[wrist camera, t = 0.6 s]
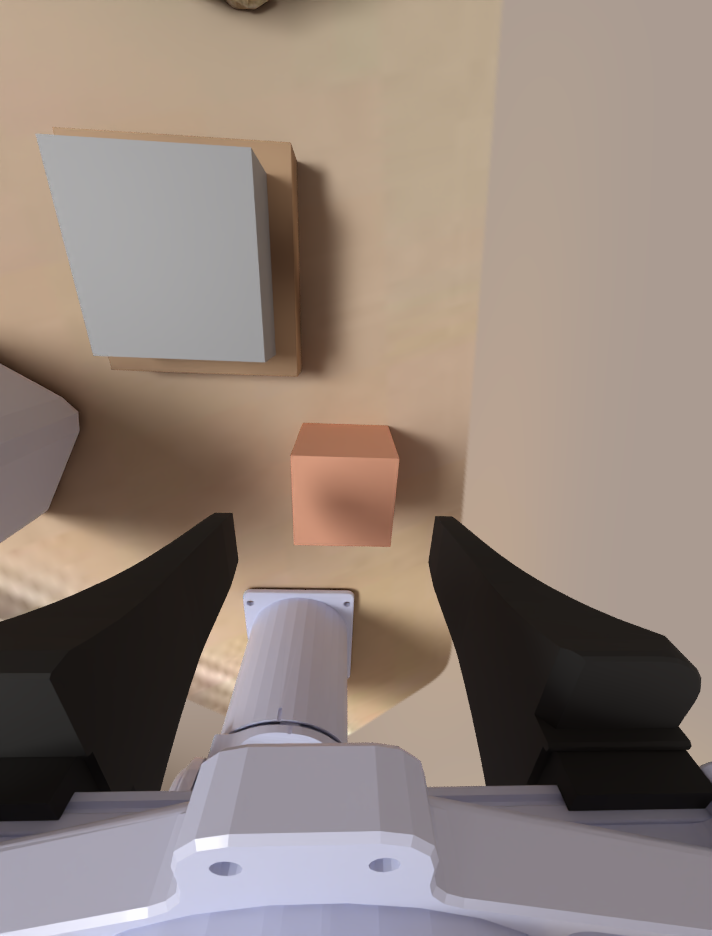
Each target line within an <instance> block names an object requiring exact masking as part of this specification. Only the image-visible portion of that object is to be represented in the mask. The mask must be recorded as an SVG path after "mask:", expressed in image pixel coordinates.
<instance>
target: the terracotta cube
mask: <svg viewBox="0 0 712 936" xmlns="http://www.w3.org/2000/svg"><path fill="white" fill-rule="evenodd" d="M398 467H399V456H398V453H397V450H396V447H395V445H394V442H393V439H392V436H391V433H390V430H389V427H388V426H382V425H351V424H320V423H303V424H302V426H301V429H300V432H299V434H298V437H297V440H296V442H295V445H294V448H293V450H292V453H291V481H292V506H293V531H294V545H327V546H378V547H390V546H391V536H392V526H393V516H394V507H395V497H396V487H397V477H398Z"/></svg>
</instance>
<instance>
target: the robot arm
mask: <svg viewBox="0 0 712 936" xmlns="http://www.w3.org/2000/svg"><path fill="white" fill-rule="evenodd" d="M237 563H238V553H237V545H236V537H235V530H234V522H233V514H232V513H214V514H212V515H210V516H209V517H207V518H206V519H204V520H203V521H202V522H200V523H199V524H197V525H196V526H194V527H193V528H192V529H190V530H189V531H187V532H186V533H184V534H183V535H181V536H180V537H179V538H177V539H176V540H174V541H173V542H171V543H170V544H168V545H167V546H165V547H163V548H162V549H160V550H159V551H157V552H156V553H154V554H152V555H151V556H149V557H148V558H146V559H144V560H143V561H141V562H139V563H138V564H136V565H134V566H132V567H130V568H129V569H127V570H125V571H123V572H121V573H119V574H117V575H115V576H113V577H111V578H109V579H107V580H105V581H103V582H101V583H99V584H96V585H94V586H92V587H90V588H88V589H85V590H83V591H81V592H79V593H76V594H74V595H72V596H70V597H67V598H65V599H62V600H60V601H57V602H55V603H52V604H50V605H47V606H44V607H42V608H39V609H36V610H33V611H31V612H28V613H25V614H22V615H19V616H17V617H14V618H11V619H7V620H4V621H1V622H0V936H712V762H708V763H706V764H704V765H701V766H700V767H699V766H698V765H697V764H696V762H695V761H694V760H693V759H692V757H691V756H690V755H689V753H688V752H687V751H686V750H689V749H690V748H691V742H690V740H689V739H688V738H687V736H686V735H685V734H684V733H683V732H682V730H681V729H680V728H679V725H680V723H681V721H682V720H683V719H684V717H685V716H686V714H687V713H688V711H689V710H690V708H691V707H692V705H693V704H694V703H695V701H696V699H697V697H698V694H699V693H700V688H701V677H700V674H699V672H698V670H697V669H696V667H695V666H694V665H692V663H690V661H689V660H688V659H687V658H686V657H685V656H684V655H683V654H682V653H681V652H680V651H679V650H678V649H677V648H676V647H675V646H674V645H673V644H672V643H671V642H670V641H669V640H668V639H667V638H666V637H665V636H663V635H661V634H658V633H655V632H652V631H650V630H647V629H644V628H641V627H639V626H636V625H633V624H630V623H628V622H625V621H622V620H620V619H617V618H615V617H612V616H610V615H608V614H605V613H603V612H600V611H598V610H596V609H593V608H591V607H589V606H587V605H585V604H583V603H580V602H578V601H576V600H574V599H572V598H570V597H568V596H566V595H565V594H563V593H561V592H559V591H557V590H555V589H553V588H551V587H549V586H547V585H546V584H544V583H542V582H541V581H539V580H537V579H536V578H534V577H532V576H531V575H529V574H527V573H526V572H524V571H522V570H521V569H520V568H518V567H516V566H515V565H514V564H512V563H511V562H509V561H508V560H507V559H505V558H504V557H502V556H501V555H499V554H498V553H497V552H496V551H494V550H493V549H492V548H490V547H489V546H488V545H487V544H485V543H484V542H483V541H482V540H480V539H479V538H478V537H477V536H475V535H474V534H473V533H472V532H471V531H470V530H468V529H467V528H466V527H465V526H464V525H462V524H461V523H460V522H459V521H457V520H456V519H455V518H453V517H446V516H435V522H434V529H433V535H432V542H431V549H430V555H429V567H430V573H431V577H432V582H433V586H434V590H435V593H436V595H437V598H438V601H439V604H440V607H441V610H442V612H443V615H444V618H445V621H446V624H447V626H448V629H449V632H450V635H451V637H452V640H453V643H454V646H455V649H456V653H457V655H458V659H459V663H460V667H461V671H462V675H463V680H464V683H465V688H466V692H467V696H468V701H469V705H470V710H471V713H472V718H473V723H474V727H475V733H476V737H477V742H478V747H479V752H480V757H481V762H482V767H483V773H484V777H485V784H486V786H460V787H427V786H426V781H425V776H424V771H423V768H422V764H421V761H420V760H418V759H417V758H416V757H415V756H413V755H411V754H410V753H408V752H407V751H405V750H403V749H402V748H400V747H399V746H393V745H387V744H380V743H348V740H347V679H348V678H349V677H350V668H351V648H352V629H353V610H354V594H353V592H351V591H348V590H281V589H248V590H246V591H245V592H244V594H243V602H244V611H245V619H246V627H247V635H248V643H247V646H246V650H245V653H244V656H243V660H242V663H241V667H240V670H239V673H238V677H237V680H236V684H235V687H234V691H233V694H232V697H231V701H230V704H229V708H228V711H227V714H226V718H225V721H224V725H223V728H222V732H221V734H216V735H215V736H214V738H213V742H212V745H211V748H210V752H209V755H208V758H203V757H195V758H194V759H192V760H191V761H190V763H189V764H188V765H187V766H186V767H185V768H184V769H182V770H181V771H180V772H179V773H178V775H177V776H176V778H175V779H174V781H173V783H172V785H171V787H170V789H169V791H160V790H161V786H162V782H163V778H164V774H165V771H166V767H167V763H168V760H169V756H170V753H171V749H172V746H173V742H174V738H175V735H176V731H177V728H178V724H179V721H180V718H181V714H182V711H183V708H184V705H185V702H186V698H187V695H188V692H189V689H190V685H191V682H192V679H193V676H194V673H195V670H196V667H197V664H198V661H199V658H200V656H201V653H202V651H203V648H204V646H205V643H206V641H207V639H208V636H209V634H210V632H211V630H212V628H213V625H214V623H215V621H216V619H217V616H218V614H219V612H220V610H221V608H222V605H223V603H224V601H225V598H226V596H227V594H228V592H229V589H230V587H231V584H232V581H233V578H234V574H235V571H236V567H237ZM251 601H253V602H251ZM345 602H349V603H345Z"/></svg>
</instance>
